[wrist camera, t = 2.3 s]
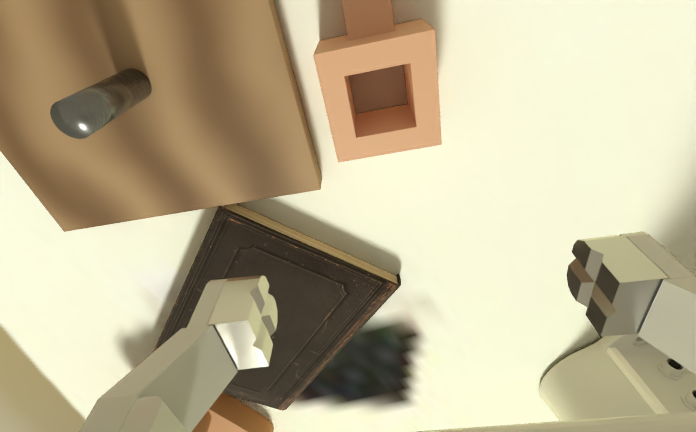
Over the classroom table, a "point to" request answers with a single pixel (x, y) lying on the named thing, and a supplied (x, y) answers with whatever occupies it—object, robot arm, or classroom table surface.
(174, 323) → the hardcover book
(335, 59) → the orange square-holed tool
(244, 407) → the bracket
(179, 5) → the board
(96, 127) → the post
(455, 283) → the classroom table surface
